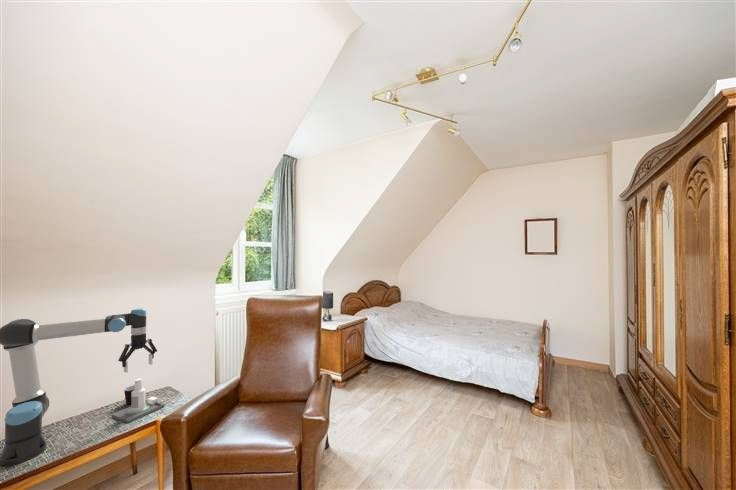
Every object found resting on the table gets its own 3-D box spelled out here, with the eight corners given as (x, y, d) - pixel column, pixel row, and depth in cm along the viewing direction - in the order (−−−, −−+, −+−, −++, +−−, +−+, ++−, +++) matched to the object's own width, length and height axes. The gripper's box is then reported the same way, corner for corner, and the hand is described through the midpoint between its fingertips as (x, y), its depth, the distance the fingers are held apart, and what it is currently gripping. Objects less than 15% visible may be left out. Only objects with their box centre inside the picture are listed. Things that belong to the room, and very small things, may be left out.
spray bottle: (134, 407, 183) (134, 378, 183) (147, 405, 185) (147, 376, 185) (129, 412, 176) (129, 382, 177) (142, 410, 178) (142, 380, 179)
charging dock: (127, 423, 168) (127, 415, 168) (111, 416, 175) (111, 409, 175) (164, 406, 186) (164, 399, 186) (148, 401, 193) (148, 394, 194)
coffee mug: (133, 406, 187) (133, 390, 188) (120, 406, 187) (120, 390, 188) (147, 397, 199) (147, 382, 199) (135, 397, 199) (135, 383, 199)
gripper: (118, 339, 170) (117, 376, 169) (163, 329, 192) (163, 362, 191) (111, 338, 173) (110, 374, 172) (156, 328, 195) (156, 360, 194)
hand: (138, 368), depth 182 cm, fingers open, 13 cm apart
